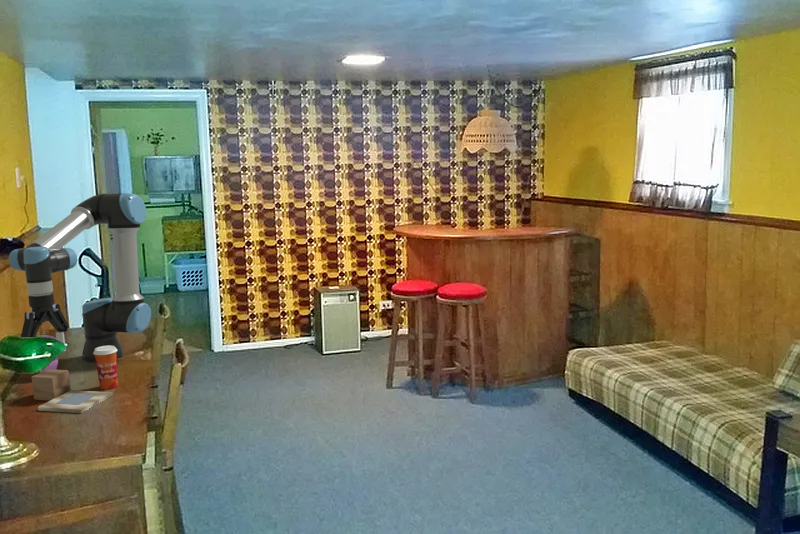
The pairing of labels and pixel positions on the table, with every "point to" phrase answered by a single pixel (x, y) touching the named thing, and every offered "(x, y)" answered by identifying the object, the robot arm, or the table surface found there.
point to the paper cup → (106, 366)
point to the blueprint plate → (75, 401)
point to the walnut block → (50, 384)
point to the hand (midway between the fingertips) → (47, 356)
